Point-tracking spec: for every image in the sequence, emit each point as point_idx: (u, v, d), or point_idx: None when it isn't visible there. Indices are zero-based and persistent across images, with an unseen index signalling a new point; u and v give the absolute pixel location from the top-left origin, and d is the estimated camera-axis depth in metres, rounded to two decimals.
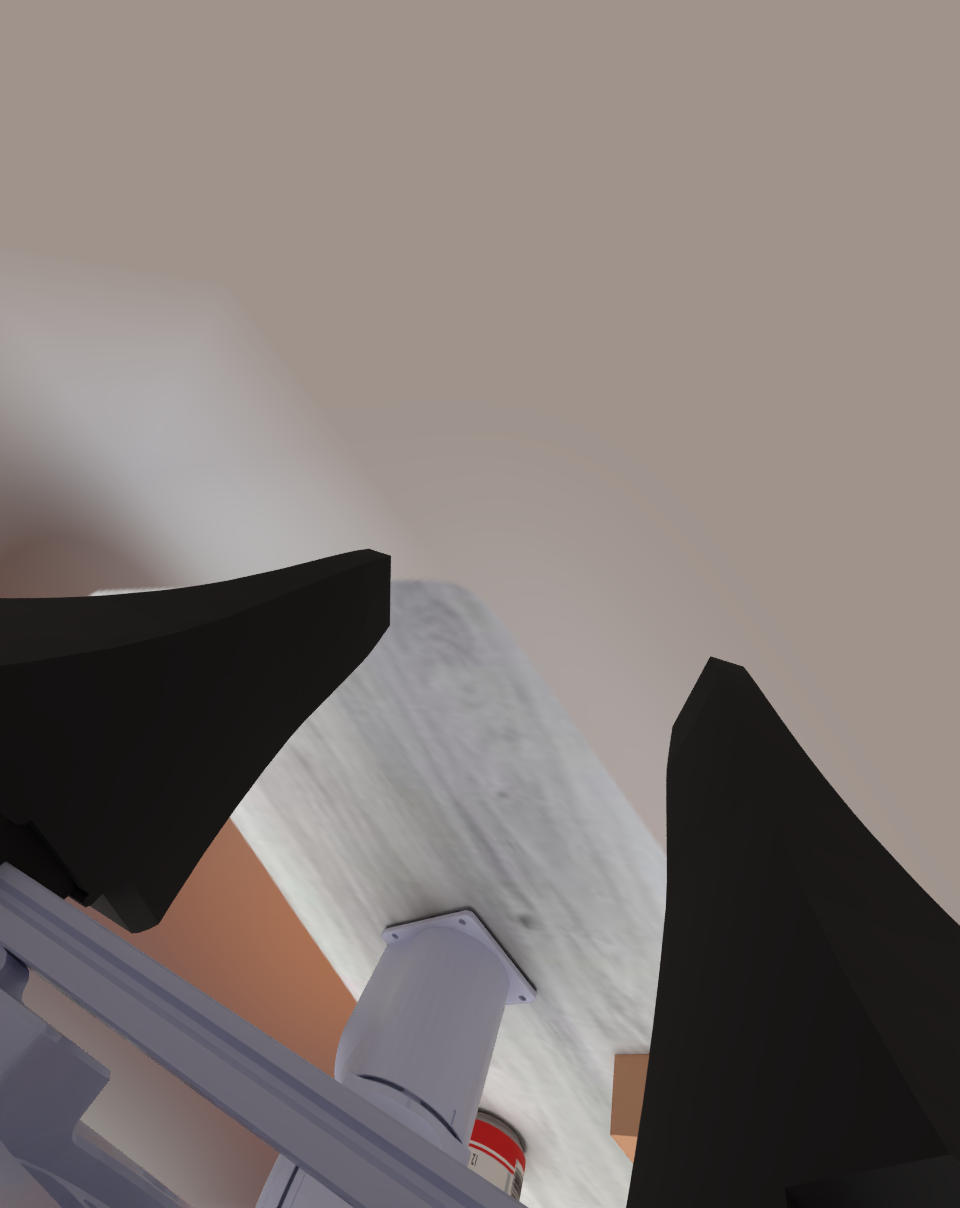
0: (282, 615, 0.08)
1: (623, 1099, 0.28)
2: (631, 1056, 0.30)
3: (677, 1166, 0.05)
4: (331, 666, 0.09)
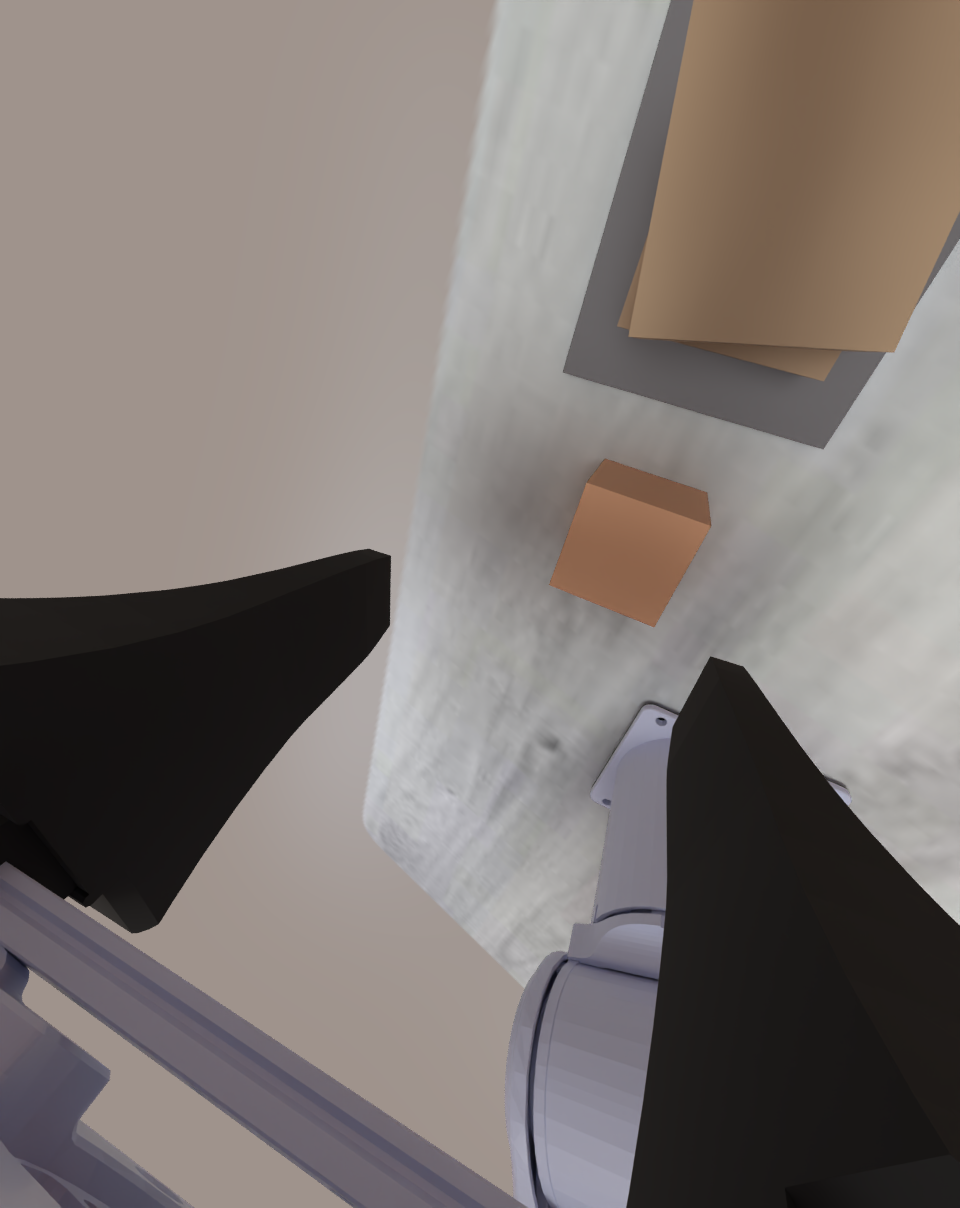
0: (282, 615, 0.08)
1: None
2: None
3: (677, 1166, 0.05)
4: (331, 666, 0.09)
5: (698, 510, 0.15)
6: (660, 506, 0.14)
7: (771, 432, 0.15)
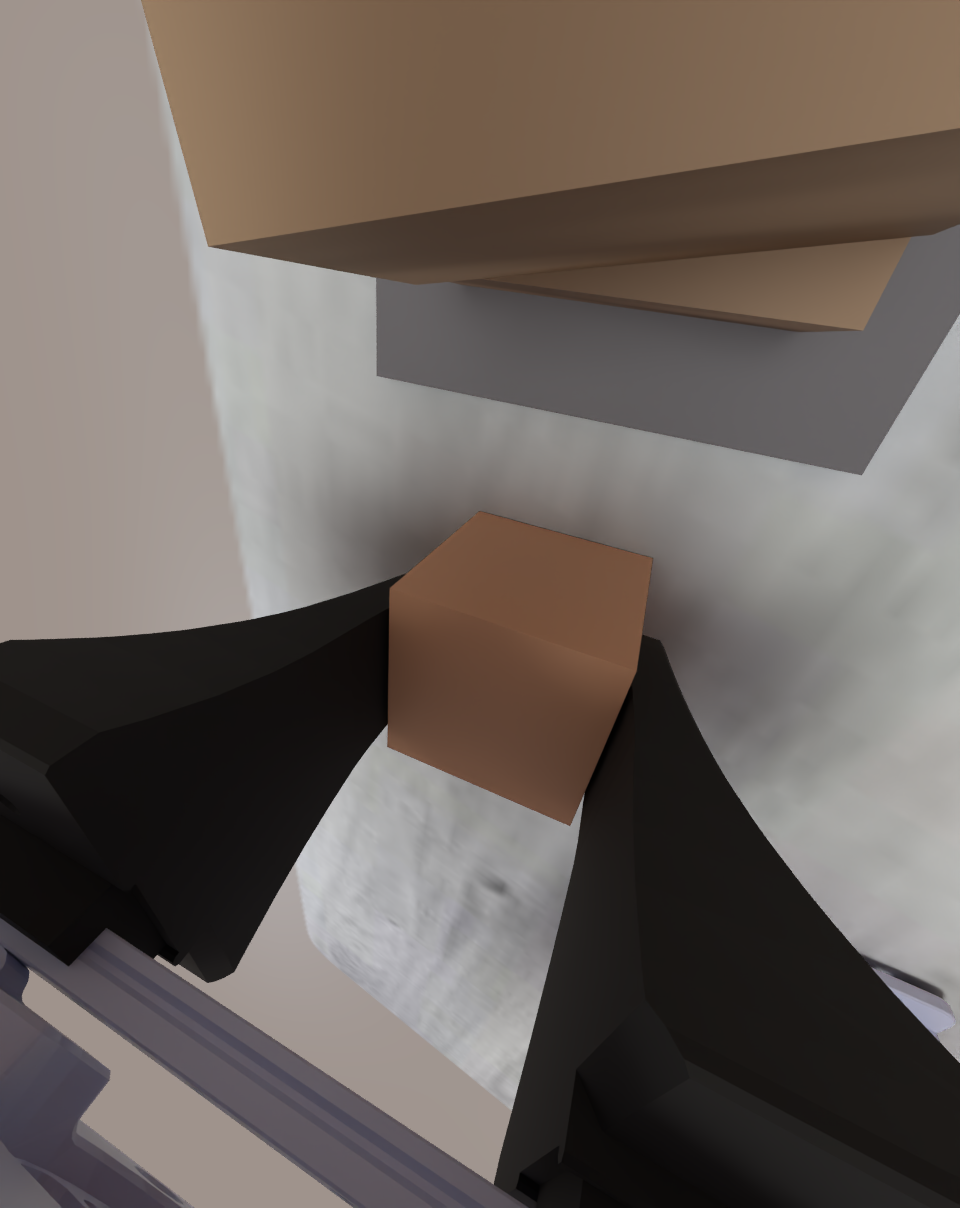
0: (358, 644, 0.07)
1: None
2: None
3: (534, 1082, 0.05)
4: None
5: (620, 620, 0.07)
6: (531, 630, 0.07)
7: (753, 450, 0.08)
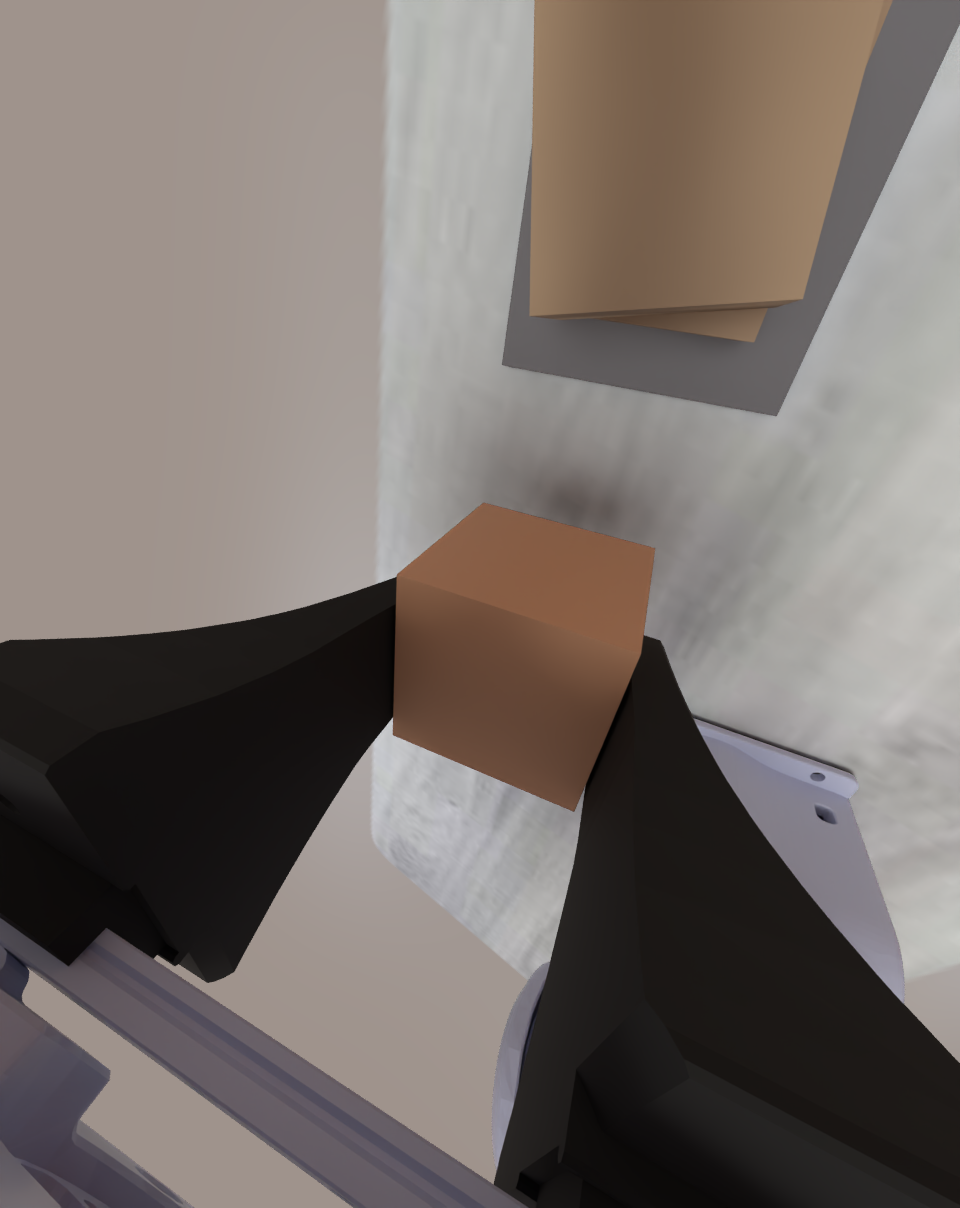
0: (359, 644, 0.07)
1: None
2: None
3: (535, 1082, 0.05)
4: None
5: (624, 606, 0.07)
6: (537, 614, 0.07)
7: (720, 404, 0.14)
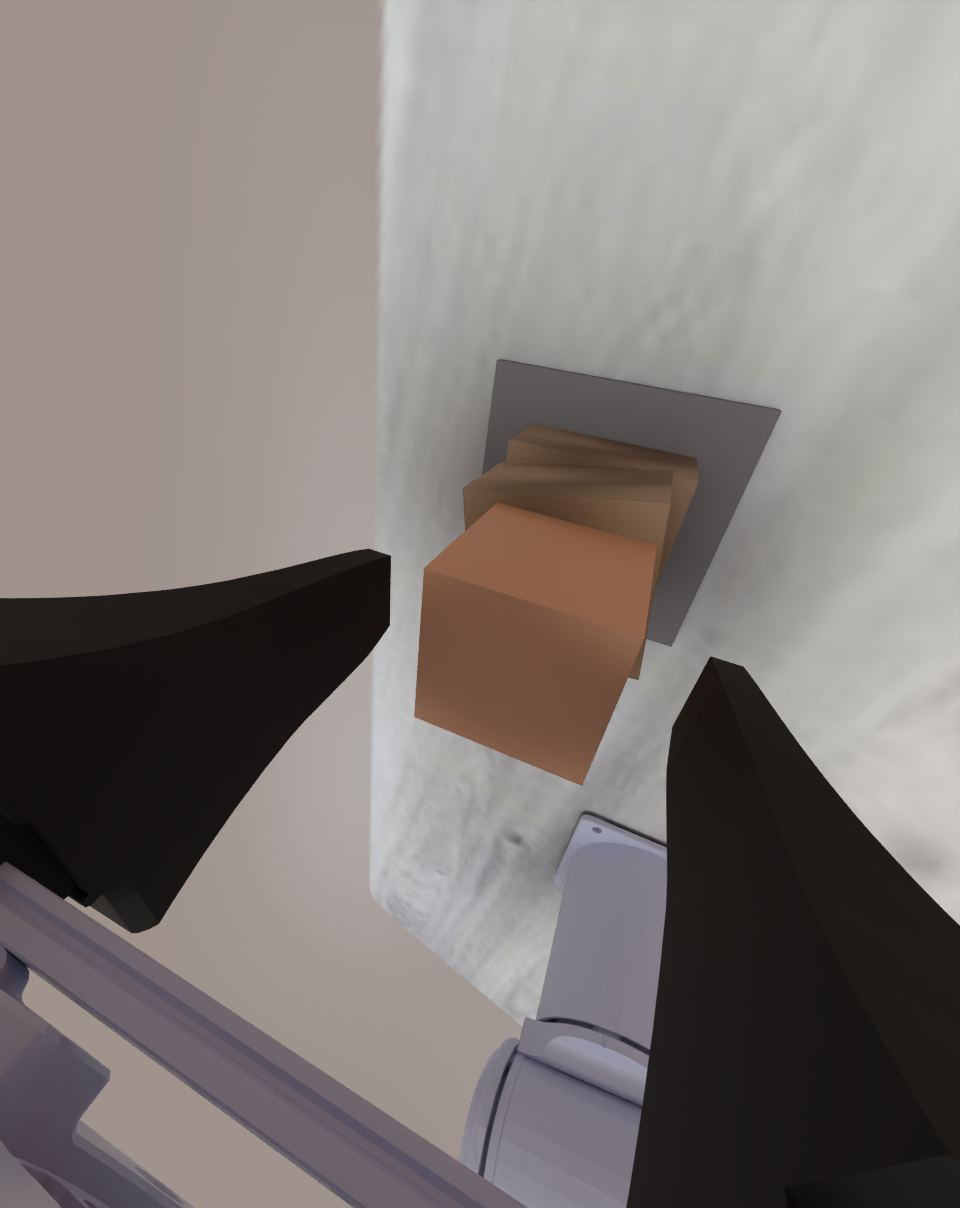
0: (282, 615, 0.08)
1: None
2: None
3: (677, 1166, 0.05)
4: (331, 666, 0.09)
5: (629, 597, 0.08)
6: (551, 603, 0.08)
7: None
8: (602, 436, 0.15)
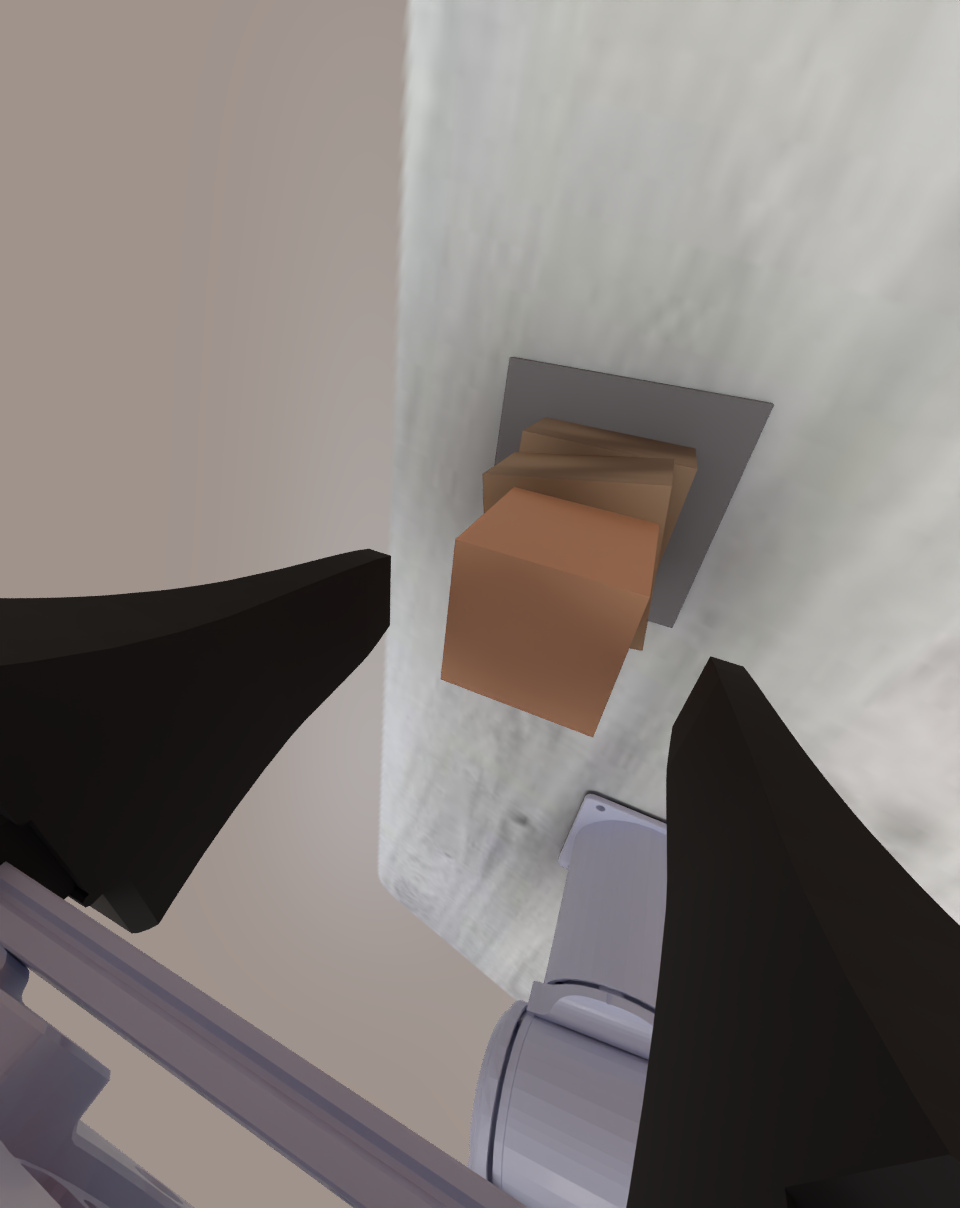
0: (282, 615, 0.08)
1: None
2: None
3: (677, 1166, 0.05)
4: (331, 666, 0.09)
5: (635, 565, 0.09)
6: (568, 569, 0.09)
7: None
8: (608, 428, 0.16)
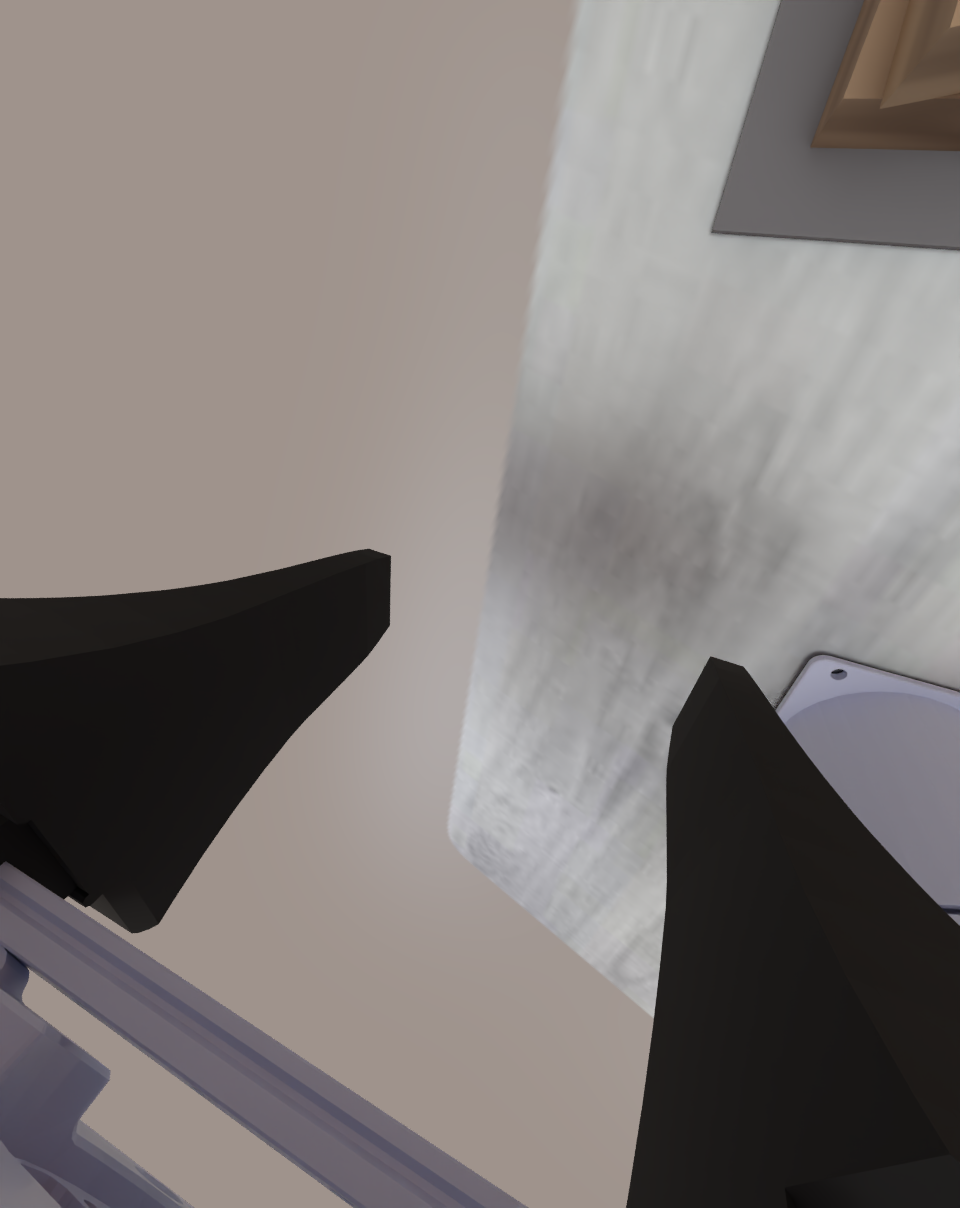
0: (282, 615, 0.08)
1: None
2: None
3: (677, 1166, 0.05)
4: (331, 665, 0.09)
5: None
6: None
7: None
8: None
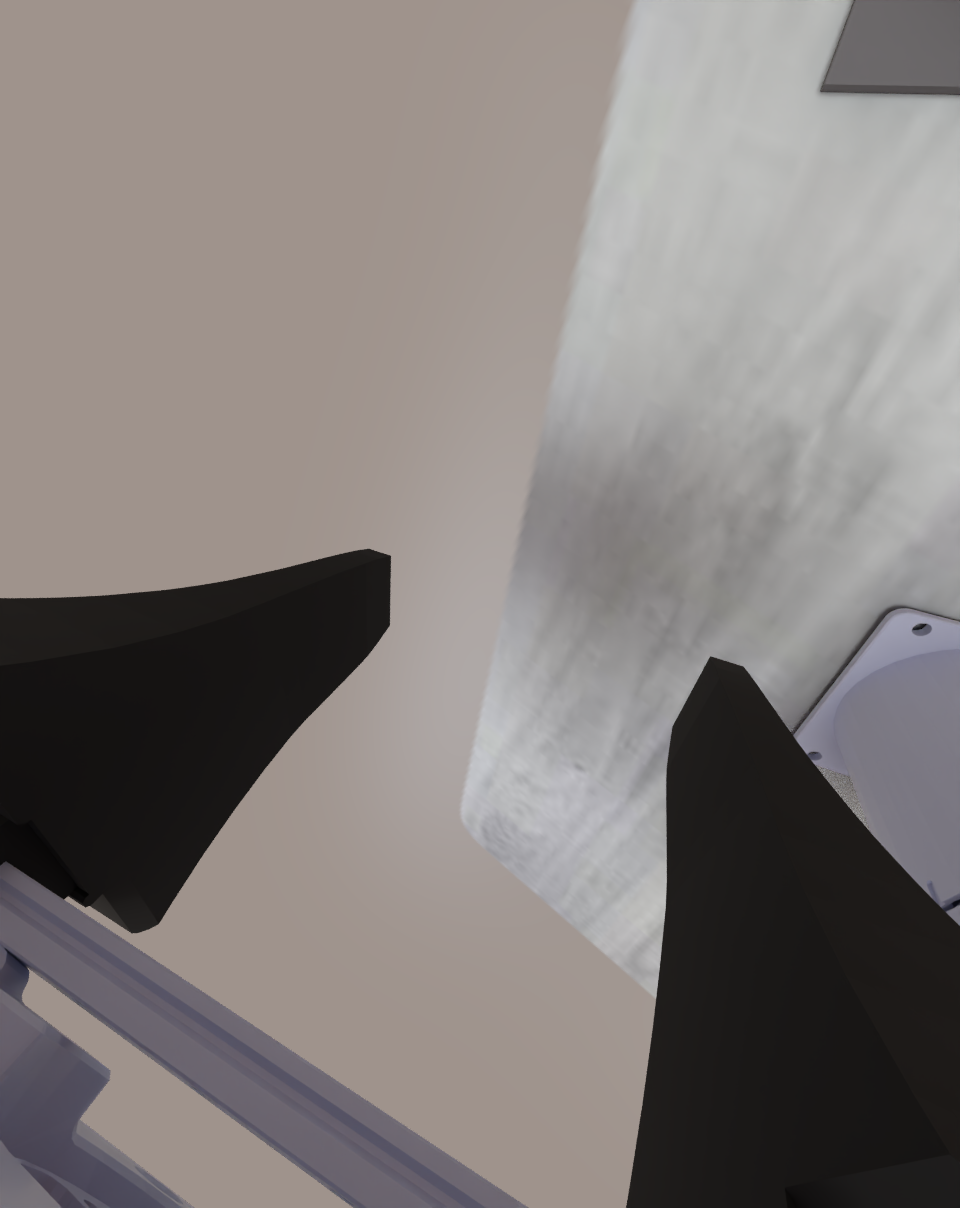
0: (282, 615, 0.08)
1: None
2: None
3: (677, 1166, 0.05)
4: (331, 665, 0.09)
5: None
6: None
7: None
8: None
